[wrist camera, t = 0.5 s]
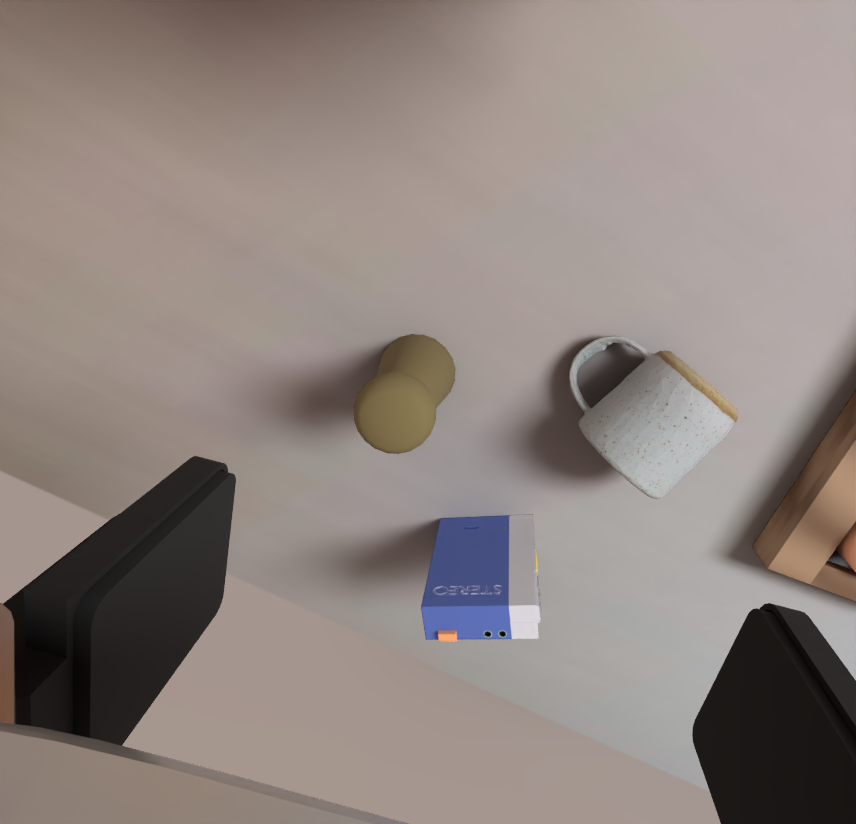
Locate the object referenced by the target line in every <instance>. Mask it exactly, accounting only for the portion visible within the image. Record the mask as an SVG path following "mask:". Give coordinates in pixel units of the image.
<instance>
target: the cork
mask: <svg viewBox="0 0 856 824" xmlns="http://www.w3.org/2000/svg"><path fill="white" fill-rule="evenodd" d="M454 381H455V367H454V363H453V359H452V357H451V355H450V354H449V352H448V351H447V349H446V348H445V347H444V346H443V345H442V344H440V343H439V342H438V341H437V340H435V339H433V338H430V337H428V336H425V335H414V334H411V335H407V336H403V337H400V338H398V339H397V340H395V341H394V342H392V343H391V344H390V345H389V346H388V347H387V348H386V350H385V351H384V352H383V354H382V357H381V360H380V363H379V366H378V370H377V373H376V377H374V378H373V379H371V380H370V381H368V382H367V383H366V384H365V386H364V387H363V388H362V389H361V391H360V392H359V393H358V395H357V398H356V401H355V404H354V421H355V424H356V427H357V430H358V432H359V433H360V435H361V436H362V437H363V439H364V440H365V441H366V442H367V443H368V444H370V445H371V446H372V447H374V448H375V449H378V450H380V451H383V452H385V453H395V454H399V453H404V452H409V451H411V450H413V449H415V448H416V447H418V446H420V445H421V444H422V443H423V442H424V441H425V440H426V439H427V438H428V437H429V435H430V434H431V431H432V429H433V426H434V424H435V420H436V408H437V407H438V405H439V404H440V403H441V402H442V401H443V400H444V398H445V397H446V396H447V395H448V394H449V393H450V391H451V389H452V386H453V384H454Z"/></svg>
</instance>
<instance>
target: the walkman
mask: <svg viewBox="0 0 856 824" xmlns="http://www.w3.org/2000/svg"><path fill="white" fill-rule="evenodd" d="M537 571H538V570H537V557H536V551H535V539H534V524H533V514H532V515H509V516H489V517H466V518H443V519H440V523H439V528H438V532H437V537H436V541H435V546H434V551H433V555H432V560H431V564H430V569H429V573H428V578H427V582H426V587H425V592H424V596H423V601H422V605H421V610H422V617H423V623H424V630H425V637H426V640H439V641H456V640H457V639H538V623H537V622H540V618H542V617H541V603H540V589H539V582H538V576H537Z"/></svg>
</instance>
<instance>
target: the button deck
mask: <svg viewBox="0 0 856 824" xmlns="http://www.w3.org/2000/svg"><path fill="white" fill-rule="evenodd" d="M855 522H856V390H855V392H854V393H853V395H852V396H851V398H850V399H849V401H848V402H847V404H846V405H845V407H844V408H843V410H842V411H841V413H840V414H839V416H838V417H837V419H836V421H835V422H834V424H833V425H832V427H831V428H830V430H829V431H828V433H827V434H826V436H825V437H824V439H823V440H822V442H821V443H820V445H819V446H818V448H817V449H816V451H815V452H814V454H813V455H812V457H811V458H810V460H809V461H808V463H807V464H806V466H805V467H804V469H803V471H802V472H801V474H800V475H799V477H798V478H797V480H796V481H795V483H794V484H793V486H792V487H791V489H790V490H789V492H788V493H787V495H786V496H785V498H784V499H783V501H782V502H781V504H780V505H779V507H778V508H777V510H776V511H775V513H774V514H773V516H772V517H771V519H770V520H769V522H768V524H767V525H766V527H765V528H764V530H763V531H762V533H761V534H760V536H759V537H758V539H757V540H756V542H755V543H754V545H753V546H752V547H753V549H754V550H755V551H756V553H757V554H758V556H759V557H760V559H761V560H762V562H763V563H764V564H765V566H766V567H767V569H770V570H772V571H775V572H778V573H780V574H783V575H786V576H789V577H791V578H794V579H797V580H799V581H802V582H805V583H808V584H810V585H813V586H816V587H818V588H821V589H824V590H826V591H829V592H832V593H835V594H837V595H840V596H843V597H845V598H848V599H851V600H854V601H856V572H855V571H854V570H851V569H849V568H846V567H843V566H841V565H838V564H835V563H832V562H830V561H827V560H828V559H829V558H830V556H831V555H832V553H833V552H834V551H835V549H836V548H837V546H838V545H839V544H840V542H841V541H842V540H843V538H844V537H845V535H846V534H847V533H848V531H849V530H850V529H851V527H852V526H853V524H854V523H855Z"/></svg>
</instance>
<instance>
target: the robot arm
mask: <svg viewBox="0 0 856 824" xmlns="http://www.w3.org/2000/svg"><path fill="white" fill-rule="evenodd" d="M235 483H236V478H235V475H234V474H231V473H228V468H227V465H226V464H224V463H221V462H217V461H213V460H209V459H205V458H201V457H197V456H194V457H192V458H190V459H189V460H188V461H186V462H185V463H184V464H183V465H181V466H180V467H179V468H178V469H176V470H175V471H174V472H172V473H171V474H170V475H169V476H167V477H166V478H165V479H164V480H162V481H161V482H160V483H159V484H157V485H156V486H155V487H153V488H152V489H151V490H150V491H148V492H147V493H146V494H145V495H143V496H142V497H141V498H140V499H138V500H137V501H136V502H134V503H133V504H132V505H131V506H129V507H128V508H127V509H126V510H124V511H123V512H122V513H121V514H119V515H117V516H115V517H113V518H112V519H111V520H109V521H108V522H107V523H105V524H104V525H103V526H102V527H100V528H99V529H98V530H97V531H95V532H94V533H93V534H91V535H90V536H89V537H88V538H86V539H85V540H84V541H83V542H81V543H80V544H79V545H77V546H76V547H75V548H74V549H73V550H71V551H70V552H69V553H67V554H66V555H65V556H63V557H62V558H61V559H60V560H58V561H57V562H56V563H55V564H53V565H52V566H51V567H50V568H48V569H47V570H46V571H44V572H43V573H42V574H40V575H39V576H38V577H37V578H36V579H34V580H33V581H32V582H30V583H29V584H28V585H26V586H25V587H24V588H23V589H21V590H20V591H19V592H18V593H16V594H15V595H14V596H12V597H11V598H10V599H9V600H7V601H6V602H5V603H4V604H2V603H0V824H407V823H404V822H400V821H397V820H394V819H390V818H387V817H383V816H379V815H375V814H372V813H369V812H365V811H361V810H358V809H354V808H350V807H347V806H343V805H339V804H336V803H332V802H329V801H325V800H321V799H318V798H314V797H311V796H307V795H303V794H300V793H296V792H292V791H289V790H285V789H282V788H278V787H274V786H271V785H267V784H264V783H260V782H256V781H253V780H249V779H246V778H242V777H238V776H235V775H231V774H228V773H224V772H221V771H217V770H213V769H210V768H206V767H202V766H198V765H194V764H190V763H186V762H182V761H179V760H175V759H171V758H167V757H163V756H159V755H155V754H151V753H148V752H144V751H139V750H136V749H132V748H128V747H124V746H122V745H123V743H124V742H125V740H126V739H127V738H128V736H129V735H130V733H131V732H132V730H133V729H134V728H135V726H136V725H137V724H138V722H139V721H140V720H141V718H142V717H143V715H144V714H145V713H146V711H147V710H148V708H149V707H150V706H151V704H152V703H153V701H154V700H155V699H156V697H157V696H158V694H159V693H160V692H161V690H162V689H163V688H164V686H165V685H166V683H167V682H168V681H169V679H170V678H171V676H172V675H173V674H174V672H175V671H176V669H177V668H178V667H179V665H180V664H181V662H182V661H183V660H184V658H185V657H186V656H187V654H188V653H189V651H190V650H191V649H192V647H193V646H194V644H195V643H196V642H197V640H198V639H199V637H200V636H201V634H202V633H203V632H204V630H205V629H206V628H207V626H208V625H209V623H210V622H211V620H212V619H213V618H214V617H215V615H216V613H217V612H218V609H219V607H220V605H221V602H222V599H223V594H224V585H225V576H226V566H227V557H228V548H229V539H230V530H231V520H232V511H233V502H234V493H235ZM693 743H694V746H695V749H696V752H697V755H698V758H699V761H700V764H701V767H702V770H703V773H704V775H705V778H706V781H707V784H708V787H709V790H710V793H711V796H712V799H713V802H714V805H715V807H716V810H717V813H718V816H719V819H720V822H721V824H856V680H855V679H854V678H853V676H852V675H851V674H850V672H849V671H848V669H847V668H846V667H845V665H844V664H843V663H842V661H841V660H840V659H839V657H838V656H837V654H836V653H835V652H834V650H833V649H832V648H831V646H830V645H829V644H828V642H827V641H826V639H825V638H824V637H823V635H822V634H821V633H820V631H819V630H818V629H817V627H816V626H815V624H814V623H813V622H812V620H811V619H810V618H809V616H808V615H806V614H805V613H804V612H801V611H797V610H794V609H790V608H786V607H782V606H778V605H774V604H770V603H768V604H764V605H763V606H762V607H761V608H760V609H753V610H752V611H750V612H749V614H748V616H747V618H746V620H745V622H744V623H743V625H742V627H741V629H740V631H739V633H738V635H737V637H736V639H735V641H734V643H733V645H732V647H731V649H730V651H729V653H728V655H727V657H726V659H725V661H724V663H723V665H722V667H721V669H720V671H719V673H718V675H717V677H716V679H715V681H714V683H713V685H712V687H711V689H710V691H709V693H708V695H707V697H706V699H705V701H704V703H703V705H702V707H701V709H700V711H699V713H698V715H697V717H696V719H695V722H694V725H693Z"/></svg>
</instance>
